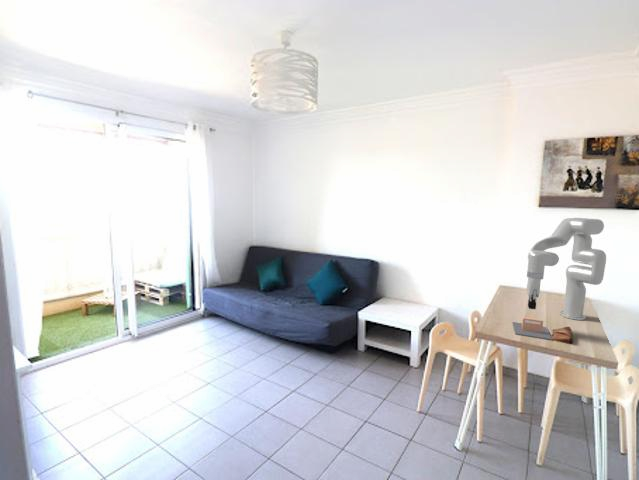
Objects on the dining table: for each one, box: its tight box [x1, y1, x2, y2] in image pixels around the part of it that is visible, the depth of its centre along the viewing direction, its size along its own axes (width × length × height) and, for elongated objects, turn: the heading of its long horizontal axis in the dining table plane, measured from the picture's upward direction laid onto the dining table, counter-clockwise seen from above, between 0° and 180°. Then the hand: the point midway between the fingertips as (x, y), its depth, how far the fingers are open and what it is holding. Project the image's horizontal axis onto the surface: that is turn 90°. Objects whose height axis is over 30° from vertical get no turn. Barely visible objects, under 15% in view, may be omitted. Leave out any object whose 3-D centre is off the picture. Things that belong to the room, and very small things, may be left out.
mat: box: [511, 321, 553, 341], centre depth 178 cm, size 18×16×1 cm
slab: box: [521, 316, 544, 333], centre depth 177 cm, size 2×9×6 cm, turn 65°
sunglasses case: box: [551, 326, 574, 345], centre depth 172 cm, size 18×7×7 cm
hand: (531, 307), depth 182 cm, fingers closed
